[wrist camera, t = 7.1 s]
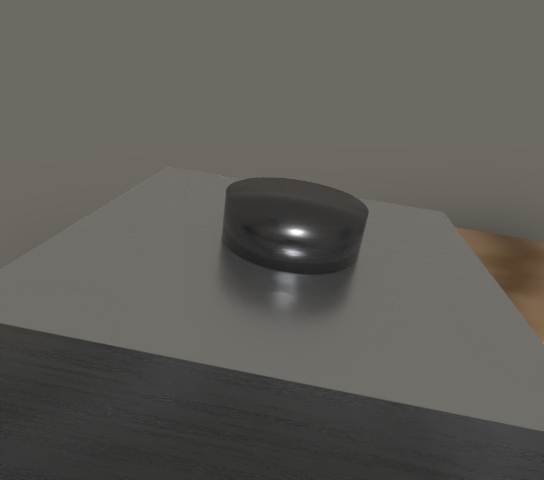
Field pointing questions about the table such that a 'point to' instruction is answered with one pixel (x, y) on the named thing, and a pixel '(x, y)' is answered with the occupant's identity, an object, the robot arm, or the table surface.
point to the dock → (514, 271)
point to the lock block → (263, 343)
